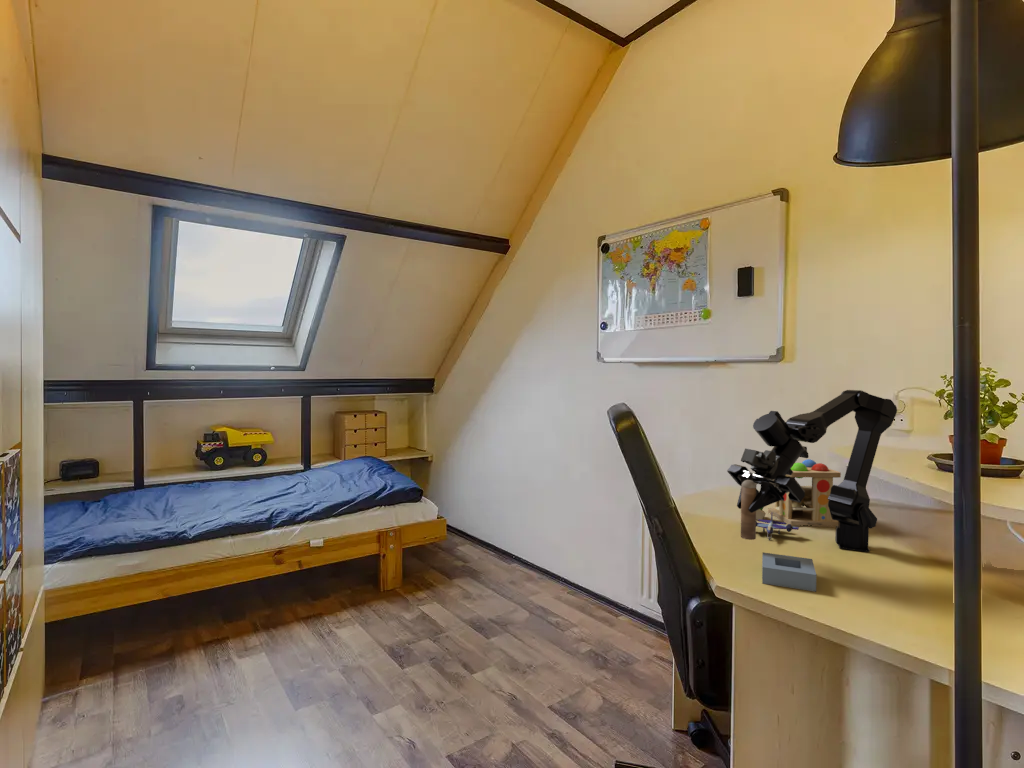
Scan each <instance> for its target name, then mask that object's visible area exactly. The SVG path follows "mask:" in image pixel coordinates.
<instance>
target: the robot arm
mask: <svg viewBox="0 0 1024 768" xmlns="http://www.w3.org/2000/svg"><path fill="white" fill-rule="evenodd" d="M897 411H898V408H897V405H896V404H895V403H894V401H893V400H891V399H889V398H883V397H880V396H876V395H873V394H870V393H868V392H866V391H864V390H862V389H861V390H860V389H859V390H858V389H857V390H856V389H846V390H843V391H841V393H840V394H839V395H837V396H836V397H835V398H833V399H831V400H829V401H828V402H826V403H824V404H823V405H821V406H820V407H818V408H816V409H815V410H813V411H811V412H806V413H802V414H801V413H800V414H796V415H793V416H792V417H789V418H788V419H787V420H786V421H785V420H784V419H783V417H782V415H781V413H780V412H779V411H777V410H770V411H769V412H768V413H767V414H764V415H761V416H760V417H759V418H756V419H755V420H754V422H753V425H752V428H753V429H754V431H755V432H756V433H757V435H758V436H759V437H760V438H761V439H762V441H763V442H764V443H765V444H766V445H767V447H768V446H769V447H772V449H771V450H768V449H767V450H764V451H759V450H755V449H750V448H744V451H743V454H742V455H741V459H740V462H742V463H746V464H747V465H749V466H750V468H749V469H751V471H752V472H754V473H752V472H751V471H750V470H749V469H748V467H746V466H744V465H740V464H731V465H730V466H729V468H728V469H727V470H726V472H727V473H728V474H729V476H730V477H732V479H733V480H734V482H736V484H737V485H739V486H740V487H741V485H742V483H743V482H744V481H745V480H752V481H753V482H754V483H755V484H756V486H758V485H760V489H759V490H758V489H757V488H756V497H755V499H754V500H753V502H752V503H751V505H750V507H749V509H748V510H749V511H750V512H751V513H752V512H754V511H757V510H759V509H761V508H763V507H764V508H766V507H767V506H770V505H772V504H775V502H777V501H780V500H781V501H783V500H784V498H783V496H784V495H785V493H788V492H790V493H789V495H788V496H789V499H790V500H792V501H796V502H799V503H800V502H801V501H802V499H803V498H804V497H805V491H804V489H803V488H802V487H801V486H802V485H801V484H799V482H798V480H797V479H796V477H795V478H792V477H787V476H786V474H787V475H792V473H793V471H792V470H791V468H792V466H793V465H794V463H797V461H798V459H799V458H804V459H809V453H808V446H803V445H802V444H801V443H802V442H803V443H811V444H813V443H814V444H815V443H817V442H818V441H819V440H820V439H821V438H823V437H824V435H826V433H827V430H828V427H830V426H831V425H833V424H835V423H836V422H838V421H839V420H840V419H842V418H844V417H846V416H848V414H850V413H851V412H854V420H855V423H856V425H857V427H858V428H857V432H856V436H855V440H854V442H853V443H854V444H853V445H852V446H853V447H852V450H851V453H850V457H849V460H848V465H847V466H846V469H845V470H846V471H845V474H844V478H843V480H842V482H840V483H839V484H838V485H836V484H833V486H832V487H831V492H830V495H829V497H828V500H829V502H828V507H829V510H830V513H831V517H832V519H833V520H837V521H838V526H835V537H834V539H835V543H836V545H837V546H838V548H839V549H842V550H849V551H850V550H851V551H856V552H857V551H860V552H865V553H870V552H871V549H870V547H869V537H870V535H869V530H870V529H873V528H875V527H876V526H877V522H878V518H877V516H876V515H875V514H874V512H873V511H872V510H871V509H870V502H871V498H870V496H869V493H868V490H867V484H868V481H869V477H870V474H871V471H872V466H873V464H874V460H875V458H876V453H877V449H878V445H879V443H880V438H881V436H882V434H883V433H884V432H885V431H886V430H888V429H889V428H890V427H892V424H893V423H894V420H895V417H896V415H897ZM736 507H737V508H738V509H739V510H741V490H740V492H739V496H738V499H737V504H736ZM764 508H763V509H764Z"/></svg>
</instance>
